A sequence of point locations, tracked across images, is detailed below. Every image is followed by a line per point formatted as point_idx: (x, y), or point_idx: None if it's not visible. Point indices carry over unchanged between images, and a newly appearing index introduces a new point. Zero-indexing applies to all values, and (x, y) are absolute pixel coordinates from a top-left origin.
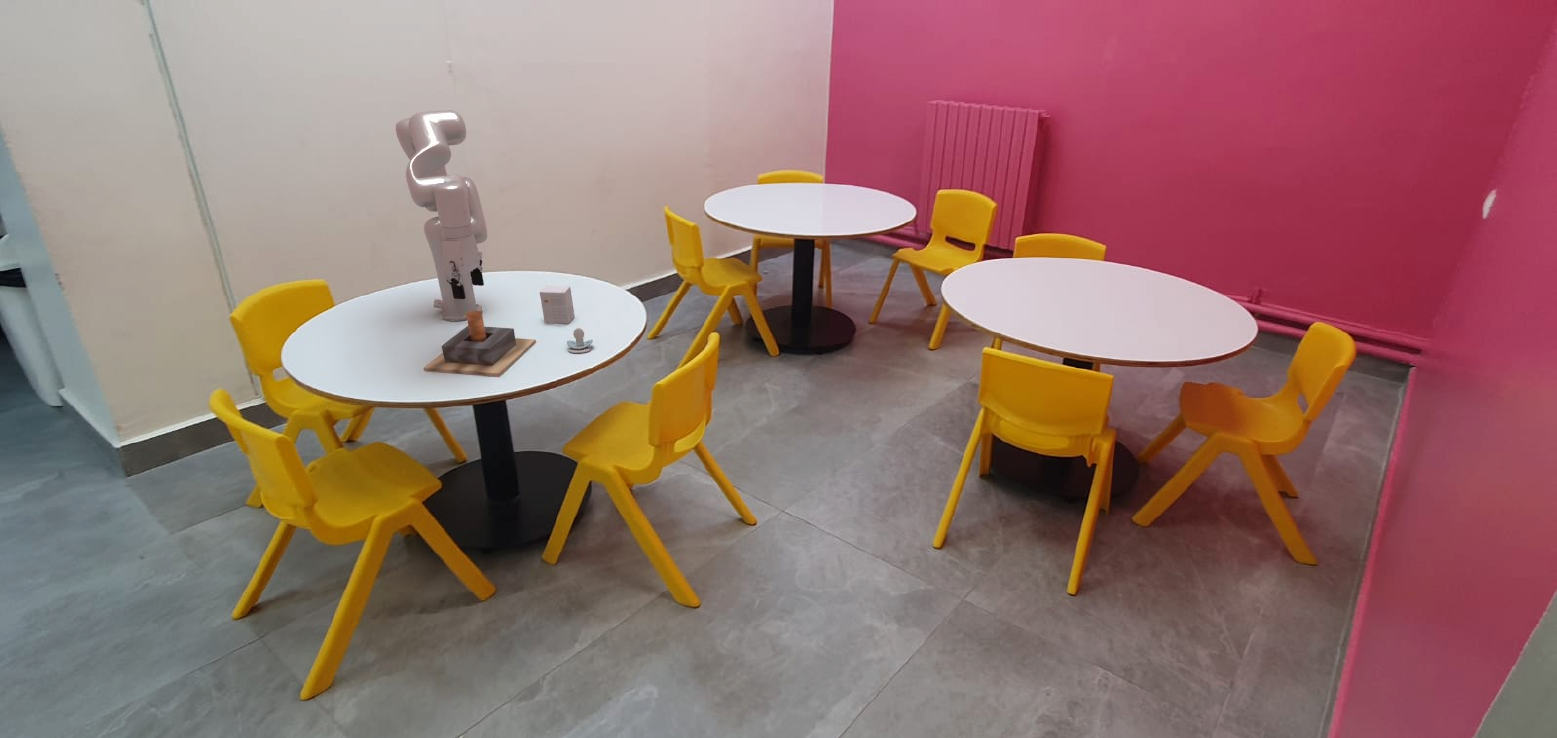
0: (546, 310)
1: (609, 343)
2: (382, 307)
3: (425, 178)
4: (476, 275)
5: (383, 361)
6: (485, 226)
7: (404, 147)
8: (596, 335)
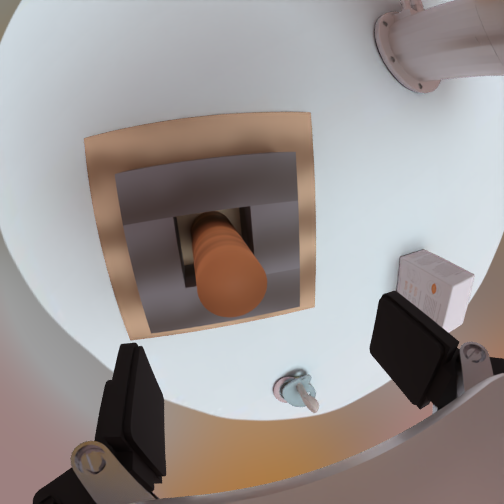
0: (419, 276)
1: (320, 402)
2: None
3: None
4: (413, 374)
5: (122, 8)
6: None
7: None
8: (349, 371)
